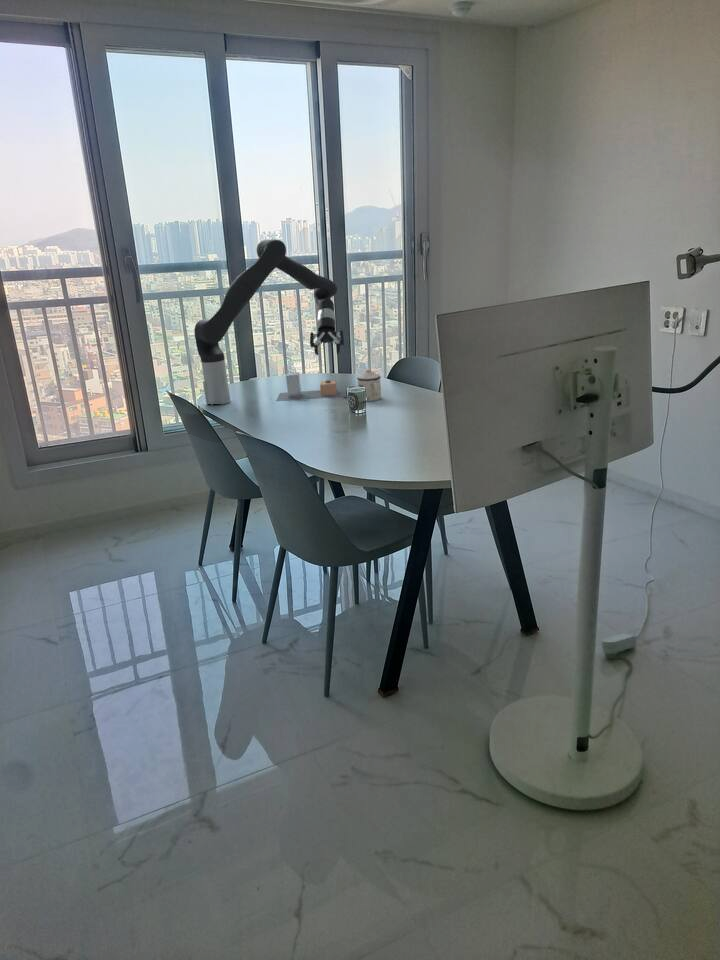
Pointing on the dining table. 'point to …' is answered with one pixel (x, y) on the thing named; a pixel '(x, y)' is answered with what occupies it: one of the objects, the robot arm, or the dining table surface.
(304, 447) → the dining table surface
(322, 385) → the cap lid
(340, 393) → the slate mat
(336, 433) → the dining table surface
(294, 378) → the steel tin
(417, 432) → the dining table surface
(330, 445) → the dining table surface
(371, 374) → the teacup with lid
